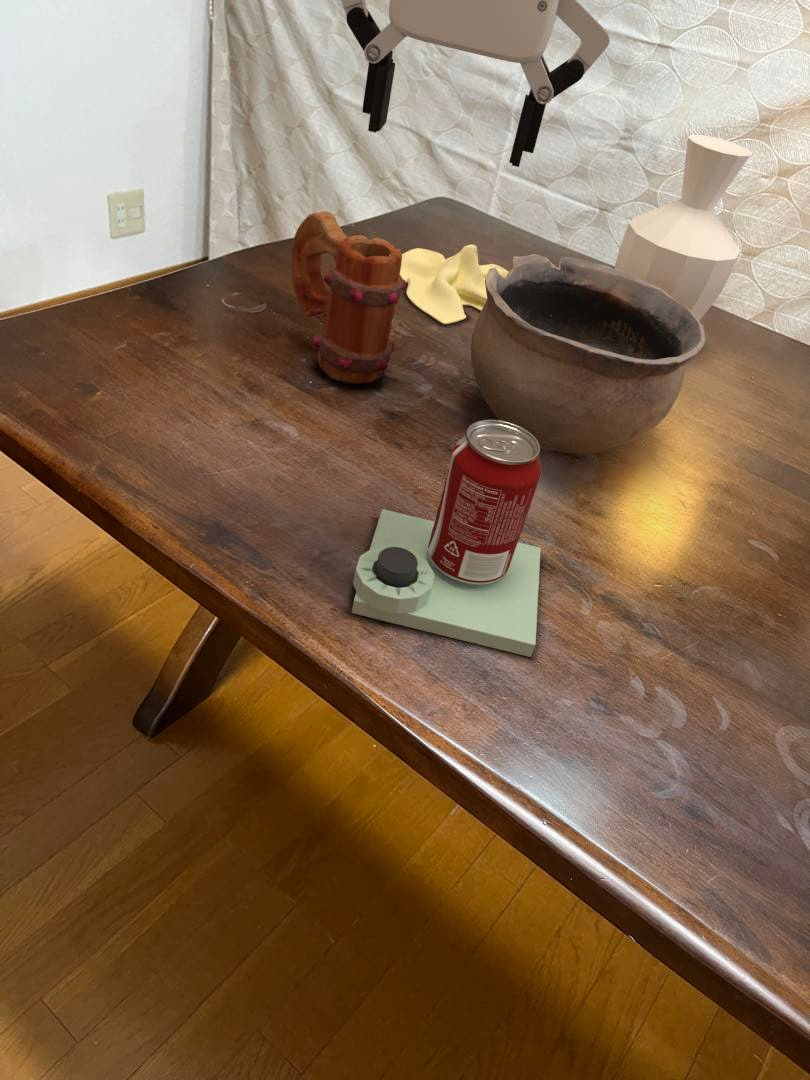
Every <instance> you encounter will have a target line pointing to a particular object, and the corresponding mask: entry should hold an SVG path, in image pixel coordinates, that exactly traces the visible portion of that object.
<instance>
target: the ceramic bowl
mask: <svg viewBox="0 0 810 1080" xmlns="http://www.w3.org/2000/svg"><path fill="white" fill-rule="evenodd" d="M485 286H486V293H487V301H486V303H485V305H484V307H483V309H482V310H481V311H480V312H479V314H478V317H477V320H476V321H475V324H474V327H473V330H472V334H471V345H470V357H471V361H470V362H471V365H472V369H473V373H474V376H475V379H476V384H477V386H478V388H479V391H480V393H481V395H482V398H483V399H484V401H485V402H486V404H487V406H488V407H489V408H490V410H491V411H492V413H493V414H494V415H495V417H496V418H497V420H500V421H505V422H509V423H512V424H515V425H517V426H520V427H522V428H524V429H525V430H527V431H528V432H530V433H531V434H532V435H533V436H534V437H535V438H536V439H537V441H538V443H539V445H540V448H542V449H545V450H548V451H552V452H557V453H564V454H574V455H575V454H577V455H579V454H580V455H581V454H595V453H599V452H604V451H607V450H610V449H613V448H616V447H621V446H625V445H628V444H631V443H632V442H635V441H636V440H638V439H639V438H642V437H643V436H644V435H646V434H647V433H649V432H650V431H652V430H653V429H654V428H656V427H657V426H658V425H659V424H660V423H661V422H662V421H663V420H664V419H666V417H667V415H668V414H669V413H670V411H671V409H672V408H673V406H674V404H675V403H676V401H677V398H678V397H679V395H680V391H681V389H682V385H683V381H684V378H685V374H686V373H685V372H686V367H687V366H686V364H687V363H688V362H689V361H690V360H692V359H693V358H694V357H695V356H696V355H698V353H699V352H700V351H701V350H703V347H704V345H705V342H706V341H707V337H706V332H705V326H704V325H703V324H702V322H701V321H699V320H698V318H697V317H696V315H695V314H694V312H693V311H691V310H690V309H688V308H686V307H685V306H683V305H681V304H680V303H678V302H677V301H676V300H675V299H674V298H673V297H671V296H670V295H669V294H668V293H666V292H665V291H664V290H663V289H661V288H658V287H656V286H654V285H651V284H649V283H647V282H645V281H643V280H640V279H638V278H636V277H633V276H630V275H627V274H624V273H621V272H619V271H616V270H615V268H614V269H613V268H612V267H610V266H608V265H605V264H599V263H595V262H593V261H589V260H585V259H582V258H578V257H573V256H563V257H560V258H559V262H558V267H557V266H556V265H554V264H553V263H552V262H551V261H550V260H549V259H548V257H546V256H543V255H541V254H537V253H532V254H528V255H524V256H513V257H512V259H511V264H510V269H509V271H508V274H507V277H506V278H504V277H502V276H501V275H500V274H499V273H498V271H497V270H496V268H491V269H489V271H488V273H487V275H486V278H485Z"/></svg>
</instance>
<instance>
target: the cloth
mask: <svg viewBox="0 0 810 1080" xmlns="http://www.w3.org/2000/svg"><path fill="white" fill-rule="evenodd" d="M491 268H496V270H497V271H498V273H499V274H500V275H501V276H502V277H504V278H506V277H507V274H508V272H509V271H508V270H507V269H505V268H504V267H502V266H500V265H498V264H495V263H488V264H479V254H478V247H477V245H476V244H468V245H465V246H463V247H462V249H461V250H460V251H459V252H458V253H456V254H454V255H452V256H449V257H448V258H445V256H444V254H442V253H440V252H437V251H434V250H431V249H425V248H421V247H417V248H412V249H410V250H408V251H405V252H404V253H402V263H401V269H400V276H401V277H402V279H404V280H405V282H406V284H407V288H406V297H407V298H408V299H409V300H410V302H411V303H412V304H413V305H414V306H416V307H417V308H418V309H419V310H421V311H422V312H424V313H425V314H427V315H428V316H430V317H432V318H433V319H435V320H436V321H437V322H438V323H441V324H442V325H450V324H454V323H457V322H461V321H463V320H465V319H466V318H467V315H466V314H465V311H464V306H470V307H473V308H475V309H476V310H477V311H480V312H481V310H482V309H483V307H484V305H485V303H486V301H487V293H486V286H485V278H486V275H487V273H488V271H489V269H491Z"/></svg>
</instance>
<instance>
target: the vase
mask: <svg viewBox="0 0 810 1080" xmlns="http://www.w3.org/2000/svg"><path fill="white" fill-rule="evenodd" d="M752 155H753V152H751V151H750V150H749V149H748V148H747V147H744V146H743V145H740V144H738V143H736V142H733V141H729V140H726V139H723V138H719V137H717V136H716V137H715V136H709V135H705V134H689V135H688V136H687V142H686V151H685V161H684V170H683V178H682V179H683V181H682V187H681V188H682V189H681V197H680V199H678V200H675V201H673V202H670V203H667V204H664V205H661V206H658V207H657V208H654V209H651V210H648V211H646V212H644V213H641V214H638V215H635V216H634V217H633V218H632V219H631V220H630V221H629V222H628V223H627V227H626V229H625V232H624V236H623V238H622V241H621V244H620V247H619V250H618V253H617V258H616V261H615V263H614V270H616V271H619V272H621V273H624V274H627V275H630V276H633V277H636V278H638V279H640V280H643V281H645V282H647V283H649V284H651V285H654V286H656V287H658V288H661V289H663V290H664V291H665V292H666V293H668V294H669V295H670V296H671V297H673V298H674V299H675V300H676V301H677V302H678V303H680V304H681V305H683V306H685V307H686V308H688V309H690V310H691V311H693V312H694V314H695V315H696V317H697V318H698V320H699V322H701V320H702V318H703V317H704V316H705V315H706V313H707V312H708V311H709V310H710V308H711V307H712V306H713V304H714V303H715V302H716V301H717V299H718V298H719V296H720V294H721V293H722V292H723V290H724V288H725V287H726V284H727V282H728V280H729V278H730V276H731V274H732V271H733V270H734V267H735V265H736V263H737V260H738V258H739V256H740V254H741V250H740V248H739V247H738V245H737V243H736V242H735V240H734V238H733V237H732V236H731V234H730V232H729V231H728V229H727V227H726V226H725V224H724V223H723V221H722V220H721V219H720V217H719V215H718V214H717V212H716V210H715V207H716V205H717V204H718V203H719V202H720V200H721V198H722V197H723V195H724V194H725V192H727V190H728V188H729V187H730V186H731V184H732V183H733V181H734V180H735V178H736V177H738V175H739V172H741V170H742V169H743V167H744V166H745V165H746V163H747V162H748V161H749V159H750V157H751V156H752Z"/></svg>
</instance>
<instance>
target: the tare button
mask: <svg viewBox="0 0 810 1080" xmlns="http://www.w3.org/2000/svg"><path fill="white" fill-rule="evenodd" d="M417 565H418V561H417V558H416V557H415V555H414V554H413V553H411V552H410V551H408V550H406V549H404V548H400V547H389V548H386V549H384V550H382V551H381V552H380V554H379V557H378V561H377V566H376V571H375V574H376V577H377V579H378V580H379V581H381V582H382V583H383V584H385V585H388V586H392V587H396V588H402V587H407V586H409V585H410V584H411V583H412V582H413V580H414V577H415V573H416V569H417Z"/></svg>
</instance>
